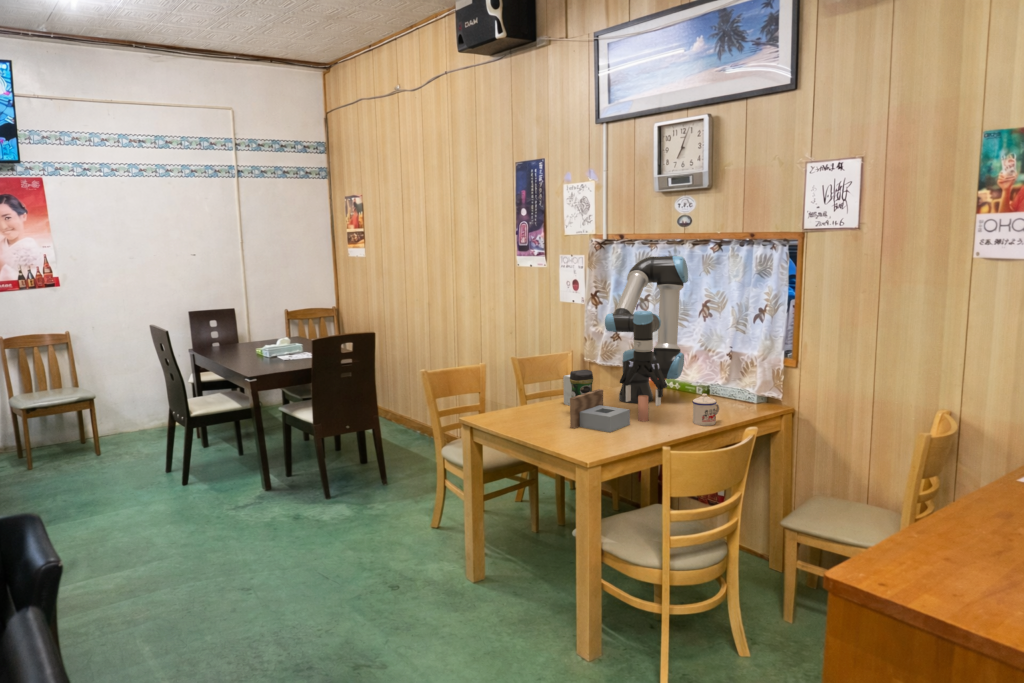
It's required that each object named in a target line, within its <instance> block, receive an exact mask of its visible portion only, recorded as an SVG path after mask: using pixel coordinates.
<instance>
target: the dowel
mask: <svg viewBox="0 0 1024 683" xmlns="http://www.w3.org/2000/svg"><path fill="white" fill-rule="evenodd" d="M637 405H638V406H637V407H638V408H637V411H638V412H637V414H638V415H637V416H638V420H637V421H639V422H642V423H643V422H648V421H649V402H648V396H647V395H639V396H638V403H637Z"/></svg>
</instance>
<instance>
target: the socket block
mask: <svg viewBox="0 0 1024 683" xmlns="http://www.w3.org/2000/svg"><path fill="white" fill-rule="evenodd" d="M630 422H631V410H630V409H629V408H628V409H627V408H621V407H620V408H619V407H616V406H608V405H603V406H602V405H599V406H596V407H593V408H590V409H587V410H584V411H581V412H580V427H579V428H584V429H587V430H588V429H589V430H594V431H600V432H606V433H613V432H615V431H618V430H620V429H622V428H625V427H627V426H630V425H631V423H630Z"/></svg>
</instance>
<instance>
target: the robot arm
mask: <svg viewBox="0 0 1024 683" xmlns="http://www.w3.org/2000/svg"><path fill="white" fill-rule="evenodd" d="M688 280H689V270H688V264H687V262H686V259H685V258H684V257H683V256H677V255H676V256H675V255H671V256H669V255H668V256H666V255H663V256H648V257H645V258H643V259H641V260H639V261H638V262H636V263H635V264H634V265H633V266H632V267H631V269H630V270H629V272H628V274H627V276H626V281H627V282H626V285H625V287H624V289H623V291H622V294H621V296H620V299H619V300H618V303H617V306H616V308H615V310H614V312H613V313H612V312H610V313H607V314H606V316H605V317H604V327H605V329H606V331H607V332H613V333H633V348H631V349H627V350H625V351H623V354H622V360H621V361H622V375H621V377H620V380H619V384H622V385H621V388H620V391H619V393H618V394H619V395H618V400H619V401H621V402H623V403H629V404H638V396H639V395H647V396H648V403H651V402H652V401H653V400H654V394H653V391H652V388H651V385H650V380H651V382H653V384H654V385H655V387H656V389H655V406H656V407H658V406H661V405H662V402H661V401H662V397H663V395H664V393H663V390H664V389H666V388H668V384H667V381H666V380H676V379H679V378H680V376H681V375H682V372H683V370H684V365H685V354H684V353H683V352H681V347H680V346H679V345H678V336H679V333H678V332H679V317H680V316H679V313H680V294H681V292H680V291H681V290H682V289H683V288H684V285H685V284H686V283H688ZM651 283H655V284H656V287H657V289H658V290H659V301H658V302H659V303H658V307H659V308H658V314H656V313H654V312H652V311H649V310H637V311H635V310H636V307H637V305H638V303H639V301H640V297H641V295H642V293H643V290H644V288H645V287H646V286H648V284H651ZM655 332H657V343H656V344H655V346H653V345H654V338H653V337H654V333H655Z"/></svg>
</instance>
